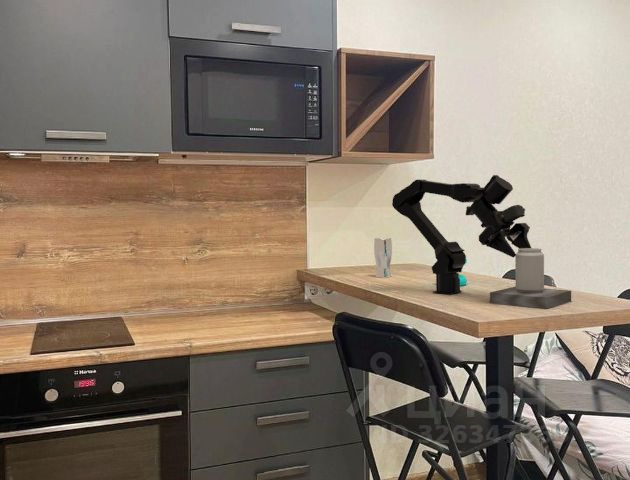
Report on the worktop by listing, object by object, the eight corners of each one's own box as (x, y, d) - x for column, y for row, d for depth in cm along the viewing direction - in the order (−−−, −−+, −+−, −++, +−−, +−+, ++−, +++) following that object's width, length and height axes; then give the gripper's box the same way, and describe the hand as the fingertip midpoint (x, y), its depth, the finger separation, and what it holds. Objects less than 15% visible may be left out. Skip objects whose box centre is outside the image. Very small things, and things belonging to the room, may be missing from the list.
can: (530, 288, 170) (530, 247, 169) (550, 292, 163) (550, 248, 162) (509, 290, 167) (509, 248, 166) (528, 294, 160) (528, 249, 160)
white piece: (396, 276, 231) (395, 238, 230) (382, 278, 227) (381, 239, 227) (384, 275, 237) (383, 237, 236) (370, 276, 233) (370, 238, 232)
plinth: (489, 303, 165) (489, 292, 165) (516, 296, 176) (516, 286, 176) (546, 309, 154) (546, 297, 154) (571, 301, 165) (571, 290, 165)
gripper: (487, 195, 163) (524, 236, 155) (523, 195, 175) (559, 233, 167) (463, 224, 169) (498, 265, 162) (499, 222, 181) (533, 260, 174)
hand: (523, 255), depth 166 cm, fingers open, 9 cm apart
